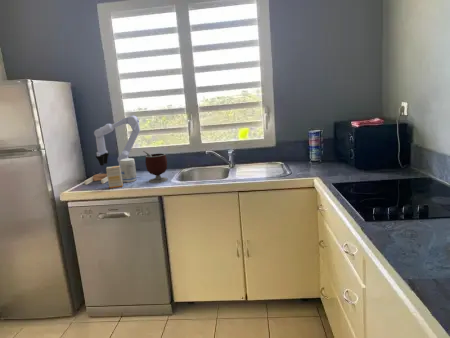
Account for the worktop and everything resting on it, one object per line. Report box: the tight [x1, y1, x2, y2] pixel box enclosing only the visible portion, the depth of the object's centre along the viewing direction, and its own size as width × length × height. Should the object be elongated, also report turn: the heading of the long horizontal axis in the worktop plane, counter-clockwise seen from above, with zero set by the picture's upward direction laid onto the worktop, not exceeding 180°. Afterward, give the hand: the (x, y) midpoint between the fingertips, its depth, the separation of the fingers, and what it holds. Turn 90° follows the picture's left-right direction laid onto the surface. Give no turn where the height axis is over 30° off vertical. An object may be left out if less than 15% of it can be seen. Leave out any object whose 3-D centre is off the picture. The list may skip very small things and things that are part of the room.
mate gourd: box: [142, 150, 169, 184], centre depth 233 cm, size 16×14×20 cm
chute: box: [84, 176, 108, 185], centre depth 246 cm, size 16×13×2 cm
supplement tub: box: [120, 157, 138, 183], centre depth 239 cm, size 10×10×15 cm
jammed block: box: [92, 173, 107, 182], centre depth 250 cm, size 5×9×4 cm, turn 87°
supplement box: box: [105, 165, 124, 189], centre depth 225 cm, size 8×5×13 cm, turn 98°
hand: (103, 164), depth 256 cm, fingers open, 6 cm apart
